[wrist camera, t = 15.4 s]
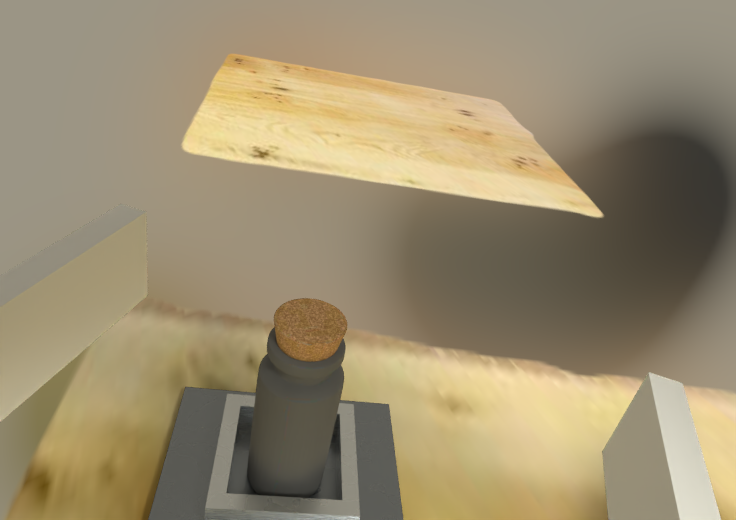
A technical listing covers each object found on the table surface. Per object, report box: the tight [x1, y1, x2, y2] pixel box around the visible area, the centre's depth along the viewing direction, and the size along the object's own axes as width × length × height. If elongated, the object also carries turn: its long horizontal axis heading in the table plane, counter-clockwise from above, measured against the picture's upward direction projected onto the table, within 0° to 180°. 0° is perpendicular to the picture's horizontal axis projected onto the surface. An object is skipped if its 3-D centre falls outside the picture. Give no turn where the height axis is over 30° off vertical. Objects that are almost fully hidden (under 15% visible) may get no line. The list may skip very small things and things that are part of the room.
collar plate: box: [148, 387, 403, 520], centre depth 44 cm, size 18×16×4 cm
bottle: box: [247, 298, 347, 498], centre depth 41 cm, size 6×6×15 cm
